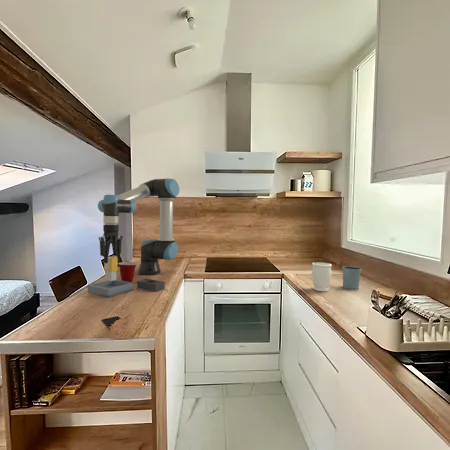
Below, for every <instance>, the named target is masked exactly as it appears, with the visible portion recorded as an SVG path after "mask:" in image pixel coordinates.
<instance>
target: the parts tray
mask: <svg viewBox="0 0 450 450" xmlns="http://www.w3.org/2000/svg"><path fill="white" fill-rule="evenodd" d="M132 291H134V282H132V283H131V282H126V281H122V279H121V280H120V279H116V280H114V281H109V280H103V281H99V282H98V281H97V282H95V283H91V284H87V293H89V294H92V295H96V296H101V297H105V298H111V297H114V296H115V297H116V296H119V295H122V294H125V293H129V292H132Z"/></svg>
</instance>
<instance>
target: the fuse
mask: <svg viewBox="0 0 450 450" xmlns="http://www.w3.org/2000/svg"><path fill="white" fill-rule="evenodd" d="M108 257H110V269H105V263H104V262H103V264H104V265H103V269H104V270H103V271H105V273H104V276H105V277H104V281H107V280H109V281H114V280H117V271H118V268H119V264H118V263H119V262H118V260H119V259H118V258H119V256H118V257H112V255H111V256H109V255H108Z"/></svg>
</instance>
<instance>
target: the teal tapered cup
mask: <svg viewBox="0 0 450 450" xmlns="http://www.w3.org/2000/svg"><path fill="white" fill-rule="evenodd" d="M341 269H342V288H343V287H344V289H346V290H350V291H351V290H352V291H353V290H359V287H360V280H361V278H360V277H361V274H362V273H361V272H362V268H361V267H357V266H349V265H348V266H347V265H344V266H342V268H341Z"/></svg>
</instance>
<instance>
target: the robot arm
mask: <svg viewBox="0 0 450 450" xmlns="http://www.w3.org/2000/svg"><path fill="white" fill-rule="evenodd" d="M179 193H180V186H179V183H178V182H177V180H176V179H174V178H169V177H168V178H153V179H151V180H147V181H146V182H143V183H140V184H139V185H138V186H137V187H135V188H132V189H131V190H127V191H126V192H123V193H121V194H118V195H117V194H105V195H103V199H101V200H99V201H98V202H97V208H98V210H99V212H101V213H103V216H102V217H103V220H102V221H103V225H102V226H103V227H102V228H103V230H102V231H103V235H102V236H99V237H98V240H99V252H100V256H101V257H103V264H104V263H105V269H110V257H109V255H110V247H111V248H112V254H113V255H111V257H118V258H119V256H120V255H121V254H122V241H123V240H122V239H123V235H119V231H120V229H119V227H120V226H119V223H120V215H119V214H133V213H135V212H136V210H137V204H136V202H137V201H139V200H142V199H143V198H144V199H147V198H151V197H157V199H158V200H159V237H158V238H157V239H148V240H147V239H146V240H142V241H141V243H140V264H139V267H138V270H137V272H138V273H137V274H138V275H142V276H154V275H159V274H161V272H162V271H161V267H160V263H159V260H164V261H170V260H171V261H172V260H174V259H175V258H176V257H177V255H178V253H179V245H178V244H177V242H176V239H175V238H174V237H173V233H174V232H173V230H174V229H173V228H174V225H173V224H174V201H175V200H176V197H177V196H179Z"/></svg>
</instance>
